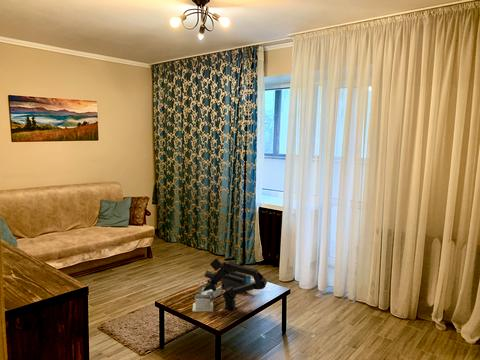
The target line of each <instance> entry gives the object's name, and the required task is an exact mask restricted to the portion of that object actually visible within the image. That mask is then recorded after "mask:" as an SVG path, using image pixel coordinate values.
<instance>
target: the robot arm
mask: <svg viewBox="0 0 480 360" xmlns="http://www.w3.org/2000/svg"><path fill="white" fill-rule="evenodd" d="M209 266H210V267H211V268H212V269H213V270H214V271H216V272H214V273H213V272H212V271H209V270H205V273H204V278H207V281H206V284H205V288H204V289H203V291H207V290H210V289H211V290H213V291H214V292H215V291H216V288H217V286H218V283H219V282H221V279H222V278H223V277H224V276H225V275H226V274H227V275H228V276H229V275H230V272H238V273H241V274H245V275H249V276H250V277H251V276H252V278H253V279H254V281H253V282H251V283H250V284H247V285H243V286H240V287H237V288H233V286H231V287H228V288H227V289H226V290H225V289H224V291H223V294H222V298H223V299H224V301H225V302H224V305H225V307H224V308H223V309H224V310H227V311H229V312H233V311H235V310H236V309H237V306H236V300H235V299H236V298H237V296H238V295H241V294H240V293H243V292H246V293H248V292H250V291H252V290H257V291H258V290H263V289H265V288H266V285H268V284H267V283H268V281H267V278H265V277H264V275H263V274H262V273H260V272H259V270H258V269H257V268H251V267H247V266H244V265H239V264H237V263H236V262H234V261H233V260H228V261H224V262H222V263H221V261H220V260H219V258H217V257H216V258H215V259H213V261H211V262H210V263H209Z"/></svg>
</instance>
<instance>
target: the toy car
mask: <svg viewBox="0 0 480 360" xmlns="http://www.w3.org/2000/svg"><path fill="white" fill-rule="evenodd" d="M203 284H204V285H203ZM206 285H207V281H203V280H201V281H198V283H197V286H201V288H200V289H198V292H197V295H202V294H210V300H212V301H215V299H216V298H217V297H218V296H220V295H223V293H224V291H223V289H222V285H219V286H218V287H216V291H215V292H214V291H213V290H211V289H210V290H207V291H203V289H204V288H205V286H206ZM203 286H204V287H203Z"/></svg>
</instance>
